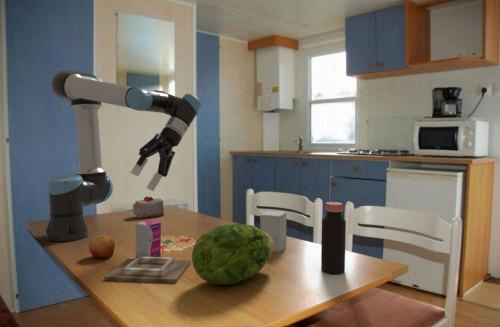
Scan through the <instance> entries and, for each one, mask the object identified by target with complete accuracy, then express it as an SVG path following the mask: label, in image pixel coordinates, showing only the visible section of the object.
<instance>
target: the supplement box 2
mask: <svg viewBox="0 0 500 327" xmlns="http://www.w3.org/2000/svg"><path fill="white" fill-rule="evenodd" d="M259 219H260V220H259V221H260V222H259V226H260V227H259V229H260V230H262V231H264V232H266V233H267V234H269V235H270V237H271V238H272V239H273V242H274V249H273V252H274V253H281V252H282V251H283V250H285V249H286V248H287V212H283V211H270V210H267V211H265V212H263V213H261V214H260V216H259Z"/></svg>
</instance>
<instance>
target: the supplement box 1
mask: <svg viewBox="0 0 500 327" xmlns="http://www.w3.org/2000/svg"><path fill="white" fill-rule="evenodd" d="M161 238H162V223H161V222H159V221H155V220H154V221H153V220H150V219H149V220H144V221H139V222H136V223H135V259H136V258H137V257H162V256H161V250H162V249H161V247H162V246H161V245H162V244H161V240H162V239H161Z"/></svg>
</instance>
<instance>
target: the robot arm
mask: <svg viewBox="0 0 500 327" xmlns="http://www.w3.org/2000/svg"><path fill="white" fill-rule="evenodd" d="M50 83H51V84H50V87H51V89H52V91H53V93H54V94H55V95H56V96H57V97H58V98H60V99H63V100H66V101H70V107H71V108H72V109H73V111H75V120H76V132H77V133H76V136H77V150H78V151H77V152H78V161H79V162H78V164H79V169H78V170H77V171H76V174H67V175H62V176H58V177H54V178H52V179H51V180H50V181H49V184H48V185H49V189H48V194H49V197H48V198H49V200H48V201H49V220H48V223H47V227H46V230H45V233H44V234H45V240H47V241H49V242H70V241H77V240H81V239H85V238H86V237H88V236H89V227H88V225H87V222H86V219H85V217H84V207H86V206H87V207H88V206H91V205H99V204H101V203H103V202H106V201H107V200H108V199H110V197H111V195H112V194H113V189H114V185H113V181H112V180H111V178H110V177H109V176H108V175H107V171H106V169H104V168H103V165H102V164H103V163H102V152H101V151H102V150H101V148H102V147H101V138H100V137H101V135H100V125H99V124H100V122H99V121H100V120H99V110H100V109H101V107H102V103H103V104H107V105H114V106H117V107H123V108H128V109H132V110H135V111H139V112H151V113H152V112H153V113H162V114H164V115H168V116H170V117H169V119H168V121H167V122H166V124H164V127H163V128H162V130H161V131H160V133H156V134H155V135H154V136H153V138H151V139H150V140H149V141H148V142H146V143H145V144H144V145H142V146H141V147H140V148H139V152H138V155H139V156H140V157H139V158H138V160H137V162H136V164H135V165H134V166H133V168H132V169H131V171H130V174H132V175H134V176H137V177H139V175H140V174H141V172H142V171H143V169H144V168H145V166H146V164H147V163H148V161H149V159H148V158H150V157H152V156H154V155H156V154H158V156H159V163H158V168H157V172H155V173H154V174H153V176H152V178H151V180H150V181H149V183H148V185H147V186H146V189H147V190H150V191H151V192H154V191H155V190H156V187H157V186H158V185H159V182H160V181H161V179H162V178H163V177H164V178H166V177H168V174H169V170H170V169H171V168H170V167H171V165H172V161H173V158H174V157H175V154H176V152H175V151H173V148H174V147H178V146H179V144H180V143H181V141H182V139H183V138H182V137H184V136H185V134H186V133H187V131H188V129H189V127H190V126H191V124H192V122H193V121H194V120H195V118H196V116H197V115H198V114H199V111H200V109H201V107H202V102H201V100H200V99H199V97H197V96H195V95H193V94H191V93H185V94H184V95H183V96H182V97H180V96H179V97H178V96H175V95H173V94H170V93H168V92H165V91H163V90H159V89H154V90H151V89H147V88H142V87H136V86H135V87H134V86H130V85H124V84H120V83H119V84H118V83H114V82H107V81H103V80H102V79H101V77H99V76H96V75H95V74H92V73H85V72H80V71H74V70H70V69H64V70H60V71H57V72H56V73H55V74H54V75H53V76H52V78H51V82H50Z"/></svg>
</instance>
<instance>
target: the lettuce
mask: <svg viewBox="0 0 500 327" xmlns="http://www.w3.org/2000/svg"><path fill="white" fill-rule="evenodd" d="M273 249H274V242H273V239H272V238H271V237H270V235H269V234H267V233H266V232H264V231H262V230H260V227H259V228H258V227H257V226H254V225H251V224H244V223H231V224H230V223H229V224H222V225H220V226H217V227H215V228H213V229H211V230H210V231H207V232H206V233H204V234H202V235H201V236H200V237H199V238H198V239H197V240H196V242H195V244H194V246H193V248H192V252H191V261H192V265H193V269H194V270H195V273H196V274H197V275H198V277H199V278H200V279H202V280H203V281H205V282H206V283H210V284H212V285H235V284H237V283H240V282H243V281H244V280H247V279H248V278H251V277H253V276H256V275H257V274H258V273H259V272H260V271H261V270H262V269H263V268H264V266H265V265H266V264H267V262H268V261H269V259H270V258H271V256H272V254H273Z"/></svg>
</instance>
